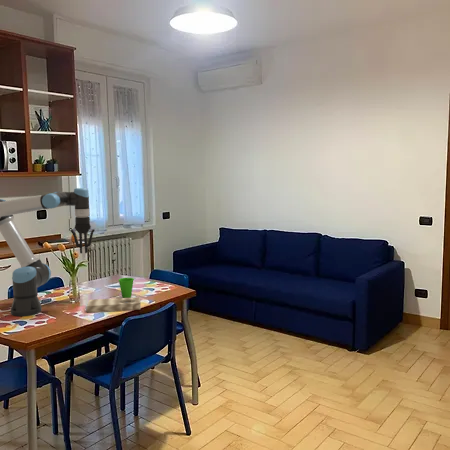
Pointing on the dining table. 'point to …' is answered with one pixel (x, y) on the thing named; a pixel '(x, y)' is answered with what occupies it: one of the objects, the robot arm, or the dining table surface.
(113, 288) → the dining table surface
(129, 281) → the cup
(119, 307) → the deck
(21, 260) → the robot arm
